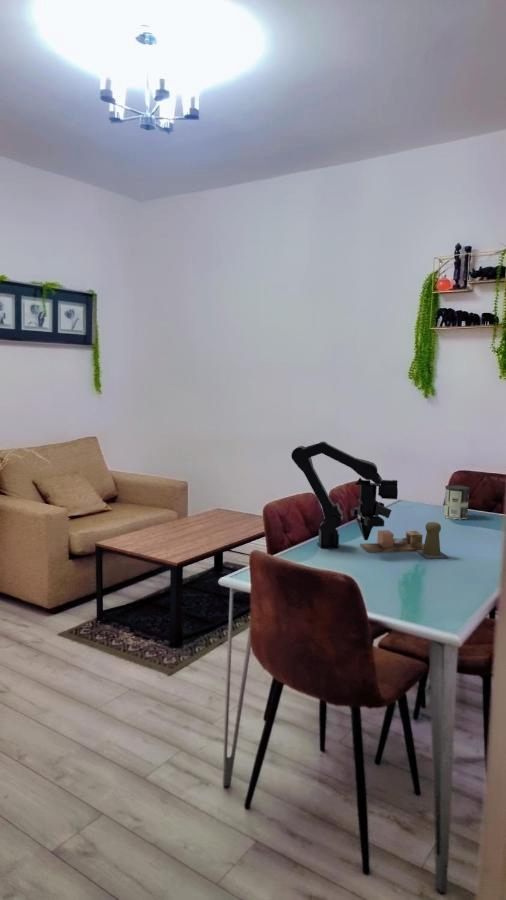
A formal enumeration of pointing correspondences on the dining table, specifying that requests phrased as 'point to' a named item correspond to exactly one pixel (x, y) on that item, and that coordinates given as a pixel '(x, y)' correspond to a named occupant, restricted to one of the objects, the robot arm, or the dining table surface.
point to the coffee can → (456, 502)
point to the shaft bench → (412, 545)
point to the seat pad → (441, 556)
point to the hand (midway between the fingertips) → (365, 540)
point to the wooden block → (389, 539)
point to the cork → (432, 539)
